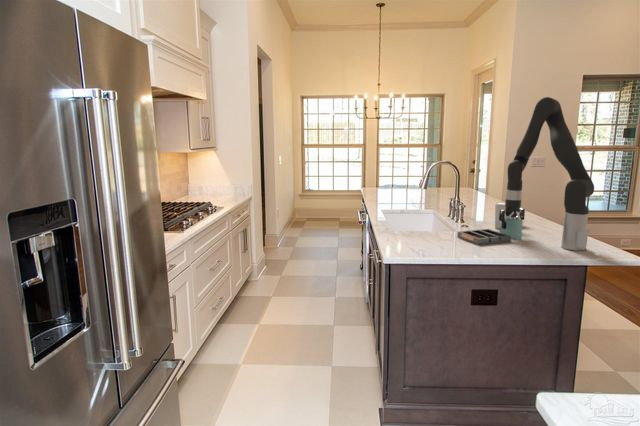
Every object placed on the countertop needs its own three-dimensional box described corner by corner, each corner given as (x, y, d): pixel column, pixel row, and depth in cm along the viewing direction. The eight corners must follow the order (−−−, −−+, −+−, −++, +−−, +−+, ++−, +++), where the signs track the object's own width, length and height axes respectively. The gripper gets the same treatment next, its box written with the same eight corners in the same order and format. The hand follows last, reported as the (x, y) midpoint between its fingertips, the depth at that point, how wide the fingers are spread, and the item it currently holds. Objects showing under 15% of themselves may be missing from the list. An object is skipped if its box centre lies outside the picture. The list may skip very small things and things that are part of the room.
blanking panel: (521, 239, 205) (522, 220, 203) (516, 239, 204) (517, 221, 202) (504, 234, 216) (505, 216, 214) (499, 234, 215) (501, 216, 214)
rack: (510, 241, 200) (511, 236, 200) (477, 245, 195) (478, 239, 194) (488, 234, 216) (488, 228, 216) (457, 236, 211) (457, 231, 210)
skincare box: (512, 228, 228) (514, 203, 225) (508, 230, 224) (510, 204, 221) (497, 226, 234) (499, 202, 231) (493, 228, 230) (495, 203, 227)
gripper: (507, 200, 201) (504, 231, 204) (530, 198, 205) (527, 229, 208) (497, 198, 208) (494, 227, 211) (519, 196, 212) (516, 225, 215)
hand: (510, 228), depth 210 cm, fingers open, 8 cm apart
